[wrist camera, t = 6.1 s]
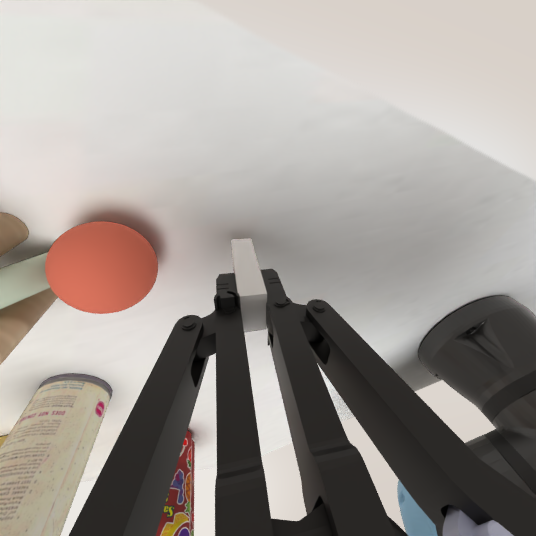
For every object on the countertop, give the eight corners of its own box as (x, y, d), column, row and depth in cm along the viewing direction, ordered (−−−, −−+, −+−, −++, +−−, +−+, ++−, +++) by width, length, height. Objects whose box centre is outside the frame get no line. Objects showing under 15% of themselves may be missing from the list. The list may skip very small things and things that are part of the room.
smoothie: (176, 416, 32) (137, 724, 16) (211, 433, 37) (208, 685, 21) (128, 439, 33) (45, 752, 17) (168, 453, 38) (133, 708, 22)
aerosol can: (60, 413, 27) (-169, 859, 11) (23, 381, 24) (-413, 992, 7) (122, 400, 28) (-6, 795, 12) (96, 368, 24) (-146, 885, 8)
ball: (-3, 231, 12) (105, 204, 17) (48, 315, 15) (127, 272, 20) (70, 257, 10) (168, 218, 15) (111, 347, 14) (181, 291, 18)
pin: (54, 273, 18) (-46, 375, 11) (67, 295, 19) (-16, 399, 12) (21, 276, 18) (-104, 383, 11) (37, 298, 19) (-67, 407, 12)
